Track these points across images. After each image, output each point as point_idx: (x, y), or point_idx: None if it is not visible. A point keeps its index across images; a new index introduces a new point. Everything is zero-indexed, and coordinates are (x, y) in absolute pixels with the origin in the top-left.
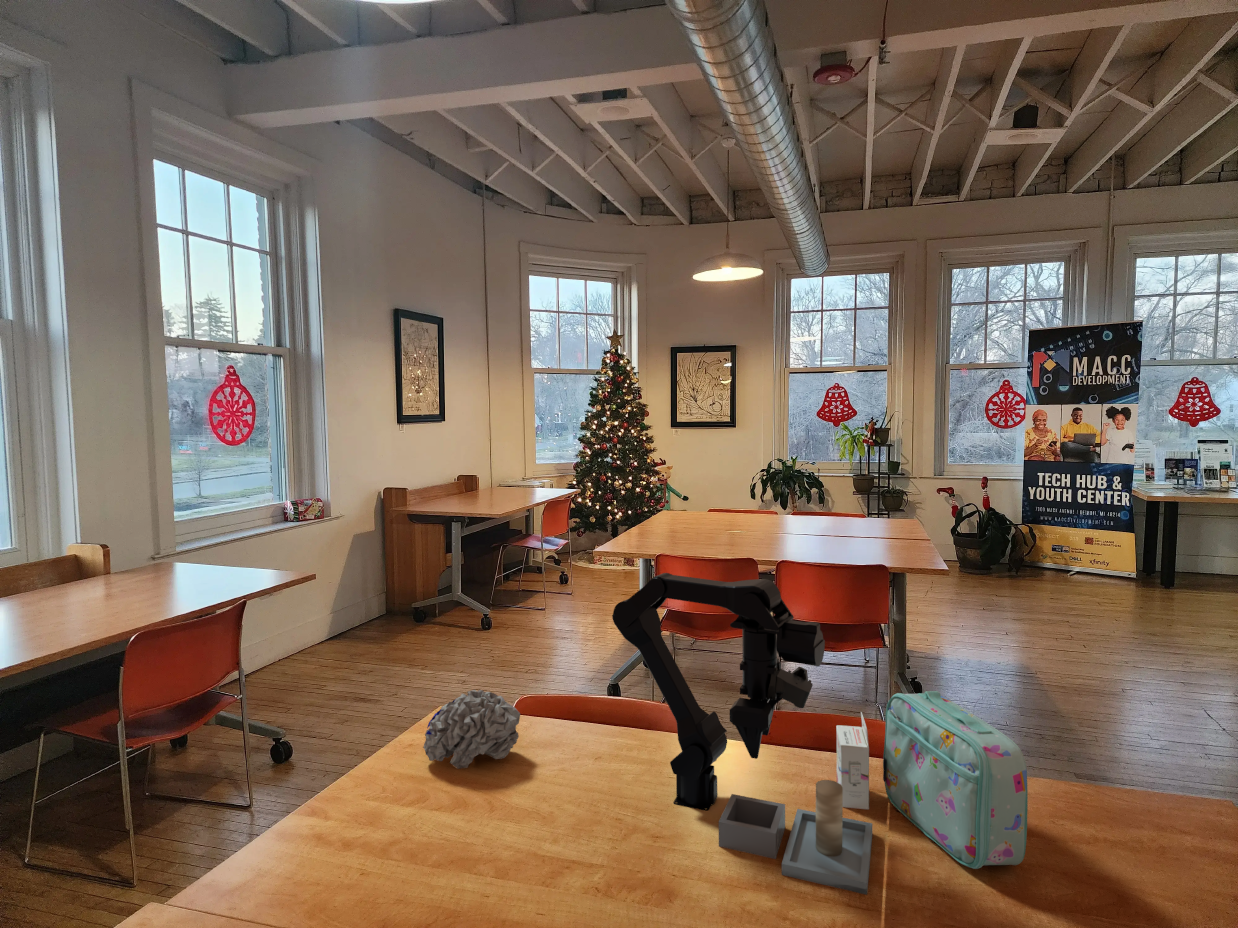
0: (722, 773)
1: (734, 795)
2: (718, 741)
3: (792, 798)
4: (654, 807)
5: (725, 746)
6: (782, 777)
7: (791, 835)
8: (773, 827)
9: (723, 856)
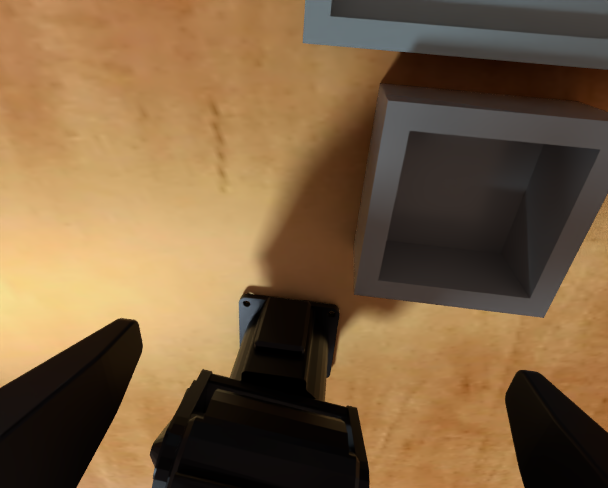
0: (123, 289)
1: (363, 286)
2: (264, 475)
3: (160, 71)
4: (345, 400)
5: (217, 412)
6: (41, 119)
7: (512, 54)
8: (591, 137)
9: None
